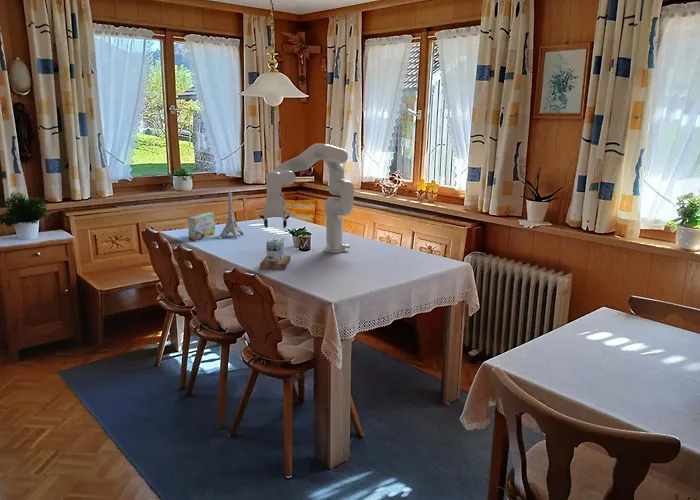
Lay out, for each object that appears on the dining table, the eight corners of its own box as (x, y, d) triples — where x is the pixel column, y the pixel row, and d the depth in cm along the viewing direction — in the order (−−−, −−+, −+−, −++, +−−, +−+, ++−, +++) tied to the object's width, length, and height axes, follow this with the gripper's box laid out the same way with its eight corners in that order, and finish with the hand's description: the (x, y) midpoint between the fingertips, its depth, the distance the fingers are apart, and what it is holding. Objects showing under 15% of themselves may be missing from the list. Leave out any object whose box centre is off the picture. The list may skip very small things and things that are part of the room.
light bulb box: (278, 262, 292) (278, 242, 290) (266, 261, 293) (265, 241, 291) (284, 257, 303) (283, 237, 300) (272, 256, 304) (271, 237, 301)
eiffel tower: (245, 235, 367) (243, 189, 360) (237, 239, 355) (235, 192, 347) (226, 233, 370) (224, 189, 363) (217, 238, 358) (215, 191, 350)
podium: (290, 260, 306) (290, 255, 306) (285, 269, 290) (284, 264, 289) (267, 260, 307) (267, 254, 307) (260, 268, 291) (260, 263, 290)
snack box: (196, 241, 348) (194, 218, 344) (188, 241, 350) (187, 217, 346) (215, 234, 367) (214, 212, 363) (208, 234, 369) (207, 211, 365)
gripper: (291, 194, 292) (292, 226, 297) (259, 194, 294) (260, 225, 298) (289, 196, 285) (290, 229, 290) (256, 196, 286) (257, 229, 291)
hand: (275, 227), depth 294 cm, fingers open, 9 cm apart
